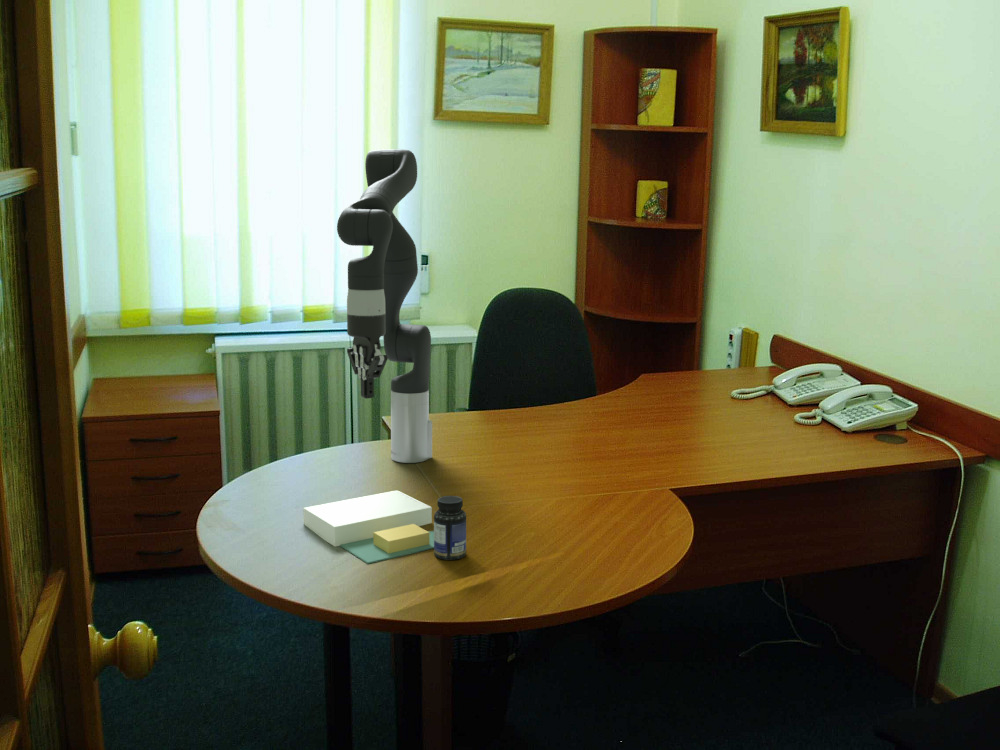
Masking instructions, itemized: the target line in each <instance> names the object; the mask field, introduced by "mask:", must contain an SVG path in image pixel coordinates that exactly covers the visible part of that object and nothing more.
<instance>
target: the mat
mask: <svg viewBox="0 0 1000 750" xmlns="http://www.w3.org/2000/svg"><path fill="white" fill-rule="evenodd" d="M427 531H428V532H430V538H429V544H428V545H424V546H420V547H415V548H411V549H406V550H402V551H398V552H393V553H387V552H386V551H384V550H382V549H381V548H379V547H377V546H376V545H374V540H373V538H369V539H365V540H360V541H355V542H351V543H346V544H342V545H340V546H339V547H341V548H342V549H344V550H346V551H347V552H348V553H350V554H351V555H353V556H355V557H356V558H358V559H359V560H361V561H363V562H364V563H365V564H367V565H369V564H373V563H377V562H381V561H387V560H390V559H395V558H399V557H403V556H408V555H411V554H416V553H420V552H424V551H428V550H432V549H433V550H434V530H427Z"/></svg>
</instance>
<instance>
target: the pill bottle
mask: <svg viewBox="0 0 1000 750" xmlns="http://www.w3.org/2000/svg"><path fill="white" fill-rule="evenodd" d="M463 505H464V504H463V498H462V497H460V496H457V495H444V496H441V497H439V498H437V507H438V509H437V510H436V511H435V512H434V515H433V531H434V548H433V554H434V556H435V557H436V558H437V559H439V560H444V561H455V560H460V559H462V558H464V557H465V556H466V555H467V513H466V512H465V511H464V510H463V509H462V508H463Z"/></svg>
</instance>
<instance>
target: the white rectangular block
mask: <svg viewBox="0 0 1000 750" xmlns="http://www.w3.org/2000/svg"><path fill="white" fill-rule="evenodd" d="M432 511H433V509H432V506H430V505H429V504H426V503H424V502H422V501H420V500H417V499H416V498H414V497H412V496H410V495H408V494H405V493H404V492H402V491H399V490H396V489H395V490H391V491H385V492H380V493H375V494H369V495H364V496H359V497H353V498H348V499H343V500H339V501H338V500H337V501H334V502H333V501H332V502H327V503H323V504H318V505H310V506H306V507H303V525H304V526H306V527H307V528H308V529H310V530H311V531H312V532H314V534H316V535H317V536H319V537H320V538H321V539H323V540H324V542H327V543H329V545H331V546H333V547H334V548H335V547H341V546H340V545H342V544H346V543H351V542H355V541H360V540H365V539H369V538H373V532H377V531H382V530H387V529H391V528H396V527H401V526H406V525H410V524H415V525H417V526H419V527H421V526H425V525H428V524H432V523H433V517H432V515H433V512H432Z"/></svg>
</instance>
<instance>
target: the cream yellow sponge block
mask: <svg viewBox="0 0 1000 750" xmlns="http://www.w3.org/2000/svg"><path fill="white" fill-rule="evenodd" d="M428 531H429V530H425V529H424V528H422V527H421V526H417V525H415V524H410V525H406V526H401V527H396V528H391V529H387V530H382V531H377V532H373V540H374V545H376V546H377V547H379V548H381V549H382V550H384V551H386V552H387V553H393V552H398V551H402V550H406V549H411V548H415V547H420V546H424V545H428V544H429V538H430V532H428Z"/></svg>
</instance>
